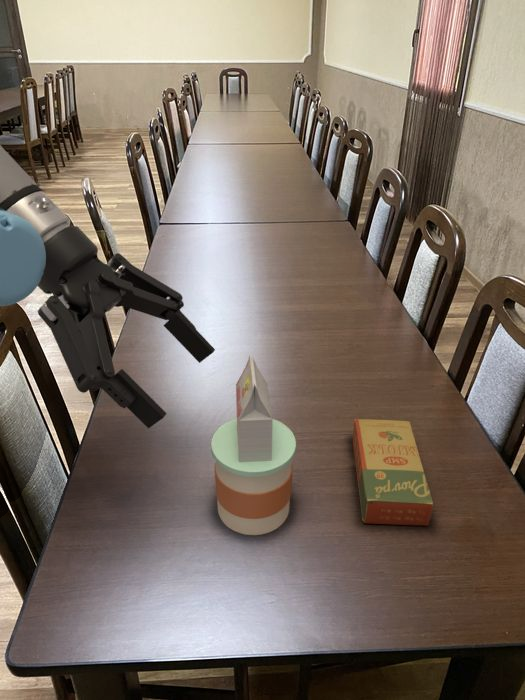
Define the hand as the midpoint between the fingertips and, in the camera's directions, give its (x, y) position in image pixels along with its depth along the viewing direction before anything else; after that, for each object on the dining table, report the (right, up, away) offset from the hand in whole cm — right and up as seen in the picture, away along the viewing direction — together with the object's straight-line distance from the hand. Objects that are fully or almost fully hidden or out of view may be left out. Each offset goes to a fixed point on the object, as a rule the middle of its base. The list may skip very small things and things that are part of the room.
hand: (185, 386), depth 62 cm
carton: (+26, -14, +12) cm, 31 cm away
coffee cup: (+8, -16, +7) cm, 19 cm away
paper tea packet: (+8, -7, +2) cm, 11 cm away
